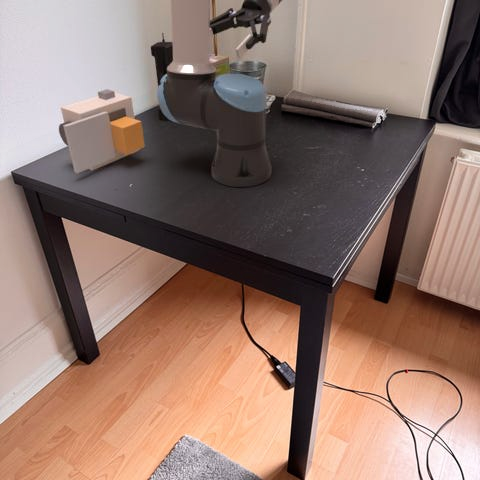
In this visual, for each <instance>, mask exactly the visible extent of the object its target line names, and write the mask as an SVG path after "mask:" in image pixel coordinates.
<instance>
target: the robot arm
mask: <svg viewBox="0 0 480 480" xmlns="http://www.w3.org/2000/svg"><path fill="white" fill-rule="evenodd" d="M281 2H283V0H243V2H242V5H241V8H240V9H238V10H236V11H235V10H234V8H232V7H230V8H228V9H227V10H226V11H225V12H223V13H222V14H220V15H217V16H216V17H213V18H212V19H210V18H211V12H210V11H211V10H210V9H211V0H170V7H171V8H170V9H171V10H170V11H171V12H170V13H171V38H172V39H171V40H172V41H171V42H172V43H173V61H172V63H171V64H170V65H169V66H168V67H167V74H166V75H164V76H163V77H162V79H161V81H160V83H161V85H159V87H158V86H157V101H158V106H159V109H160V108H161V110H162V112H163V114H164V115H165V116H166V117H167V118H168V119H169V120H168V121H171V122H174V123H178V124H180V125H182V126H188V127H189V126H190V127H195V128H196V127H197V128H201V129H204V130H211V131H215V132H216V141H217V142H216V144H217V145H216V149H215V152H214V155H213V160H212V162H211V176H212V178H213V180H214V181H216V182H218V183H219V184H222V185H224V186H228V187H233V188H234V187H235V188H236V187H237V188H247V187H249V188H250V187H254V186H257V185H258V186H259V185H261V184H264V183H265V182H267V181H269V179H270V178H271V175H272V163H271V160H270V157H269V154H268V150H267V147H266V115H267V96H266V88H265V86H264V84H263V83H262V81H260V80H259V79H258V78H255V77H254V76H251V75H247V74H242V73H229V74H223V75H220V76H218V77H217V78H216V68H215V67H214V66H213V65H212V64H211V63H210V54H211V53H210V52H211V51H210V50H211V49H210V47H211V46H210V45H211V43H210V42H211V41H212V40H213V39H214V38H215V35H217V34H220V33H222V32H224V31H227V30H229V29H232V28H233V29H237V28H239V27H240V28H242V27H243V28H245V29H246V28H250V30H251V34H250V33H249V34H248V35H247V36H246V37H245V38H244V39H243V40H242V41H241V43H240V44H238V46H237V47H236V48H235V53H236V56H237V59H240V60H241V59H242V58H243V57H244V56H245V55H246V53H247V52H248V51H249V50H251V49H253V47H254V46H255V45H256V44H259V42H261V44H264V43H266V41H267V36H268V31H269V26H270V25H271V23H272V18H271V16H270V14H271V13H272V12H273V11H274V10H275V9H276V8H277V6H279V5H280V4H281ZM234 19H235V20H234ZM235 22H236V23H235ZM256 25H260V30H259V33H257V28H256Z"/></svg>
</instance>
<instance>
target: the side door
mask: <svg viewBox="0 0 480 480" xmlns="http://www.w3.org/2000/svg"><path fill="white" fill-rule="evenodd" d="M63 127H64V131H65V135H66V139H67V143H68V146H67V147H68V149H69V154H70V158H71V162H72V166H73V167H72V168H73V172H74V173H76V174H79V173H82V172H84V171H86V170H90V169H89V168H91V167H94V166H96V165H98V164H101V163H103V162H106V161H108V160H110V159H113V158H115V157H116V153H115V150H117V151H119V152H122V153H124V154H130V153H132V152H134V151H137V150H139V151H140V149H143V148H146V145H145V138H144V130H143V125H142V121H141V120H139V119H132V118H129V117H123V118H120V119H117V120H115V121H112V122H110V120H109V115H108V112H102V113H99V114H96V115H93V116H90V117H87V118H84V119H81V120H78V121H75V122H72V123H69V124H66V125H63ZM137 152H138V151H137ZM134 153H135V152H134ZM132 154H133V153H132ZM130 155H131V154H130Z"/></svg>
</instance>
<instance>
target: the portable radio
mask: <svg viewBox="0 0 480 480" xmlns="http://www.w3.org/2000/svg"><path fill="white" fill-rule="evenodd" d="M161 35H162V41H157V42H156V43H154V44H153V45H151V46H150V53H151V56H152V57H153V58H154V62H155V64H154V65H155V70H156V71H155V72H156V73H155V74H156V81H157V88H158V87H159V85H161V83H160V81H161V79H162V77H163V76H164V75H166V74H167V67H168V66H169V65H170V64H171V63H172V61H173V43H172V41H165V36H164V32H162V33H161ZM157 113H158V119H159V120H162V121H170V120H169V119H168V118H167V117H166V116H165V115H164V114H163V112H162V110H161V108H160V107H159V109H157Z"/></svg>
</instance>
